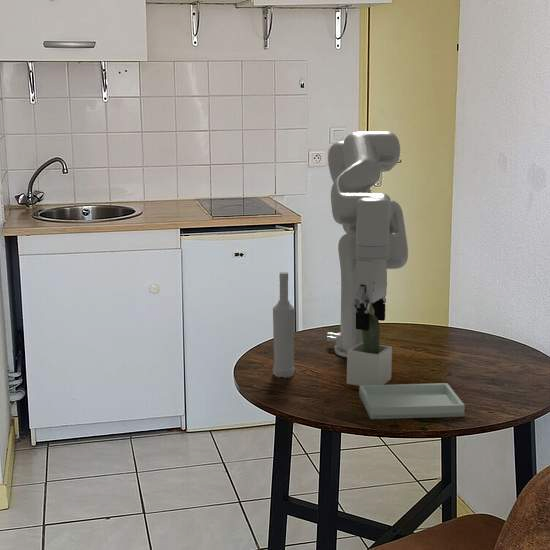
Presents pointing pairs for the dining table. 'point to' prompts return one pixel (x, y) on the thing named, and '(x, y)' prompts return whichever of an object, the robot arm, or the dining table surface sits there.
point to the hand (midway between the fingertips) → (370, 324)
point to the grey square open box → (369, 365)
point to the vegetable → (371, 334)
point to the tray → (410, 401)
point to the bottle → (283, 332)
